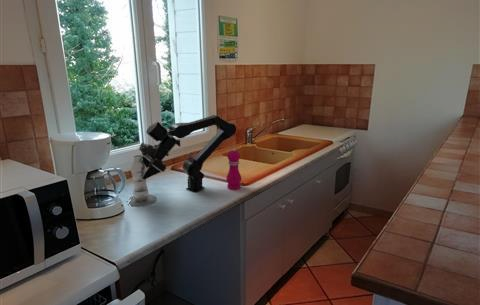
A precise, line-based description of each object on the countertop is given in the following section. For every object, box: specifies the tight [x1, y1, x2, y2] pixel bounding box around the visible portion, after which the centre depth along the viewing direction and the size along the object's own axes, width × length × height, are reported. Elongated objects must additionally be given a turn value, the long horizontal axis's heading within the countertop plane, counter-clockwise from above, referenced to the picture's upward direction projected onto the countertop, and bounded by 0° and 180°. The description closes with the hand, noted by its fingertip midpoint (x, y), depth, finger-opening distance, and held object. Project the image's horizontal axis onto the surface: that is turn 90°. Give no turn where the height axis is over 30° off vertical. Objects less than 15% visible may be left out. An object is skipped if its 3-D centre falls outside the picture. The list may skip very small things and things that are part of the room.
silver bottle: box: [130, 154, 150, 201], centre depth 137 cm, size 6×7×20 cm
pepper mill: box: [225, 147, 242, 191], centre depth 152 cm, size 7×7×20 cm
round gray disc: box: [127, 193, 158, 208], centre depth 140 cm, size 13×13×1 cm
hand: (140, 175), depth 137 cm, fingers open, 9 cm apart
